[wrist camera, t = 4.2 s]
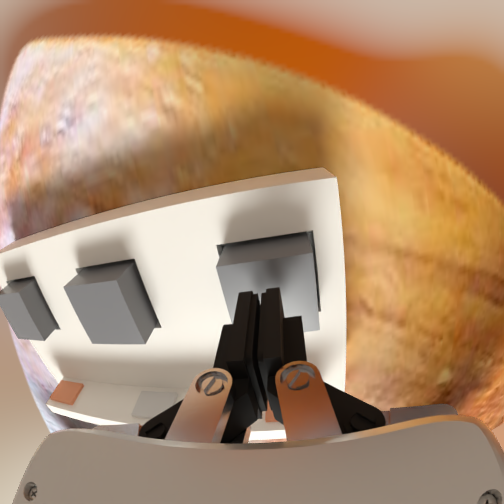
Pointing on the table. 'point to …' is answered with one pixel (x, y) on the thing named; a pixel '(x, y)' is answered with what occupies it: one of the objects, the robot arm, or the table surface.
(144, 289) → the button middle
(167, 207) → the button board
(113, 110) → the table surface
